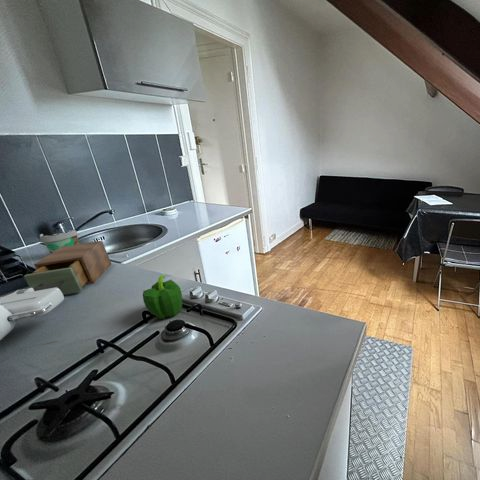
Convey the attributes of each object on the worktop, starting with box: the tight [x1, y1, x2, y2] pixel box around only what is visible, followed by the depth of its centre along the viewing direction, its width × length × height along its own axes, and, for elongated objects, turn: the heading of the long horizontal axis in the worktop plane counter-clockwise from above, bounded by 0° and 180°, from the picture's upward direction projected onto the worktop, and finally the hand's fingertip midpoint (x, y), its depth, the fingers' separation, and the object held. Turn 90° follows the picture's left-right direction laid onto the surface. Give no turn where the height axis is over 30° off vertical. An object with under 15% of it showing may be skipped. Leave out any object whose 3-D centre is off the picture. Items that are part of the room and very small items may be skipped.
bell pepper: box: [142, 274, 183, 320], centre depth 66 cm, size 8×8×10 cm
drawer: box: [23, 260, 89, 295], centre depth 80 cm, size 18×11×8 cm, turn 18°
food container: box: [39, 229, 80, 254], centre depth 105 cm, size 12×6×10 cm, turn 105°
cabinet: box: [33, 240, 112, 286], centre depth 88 cm, size 15×12×10 cm
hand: (27, 291), depth 67 cm, fingers closed
